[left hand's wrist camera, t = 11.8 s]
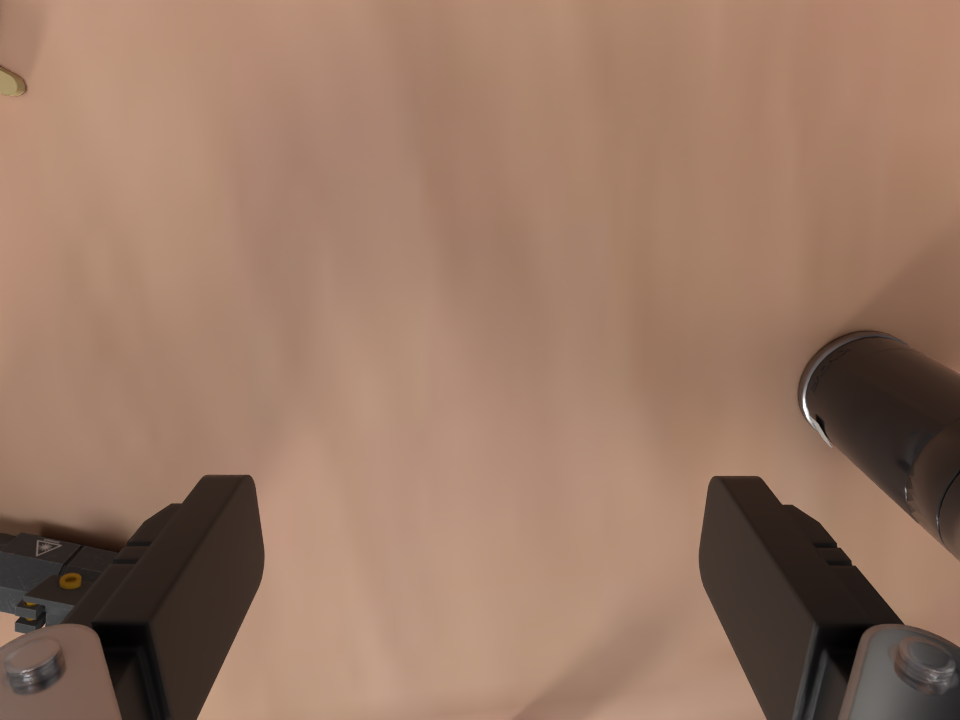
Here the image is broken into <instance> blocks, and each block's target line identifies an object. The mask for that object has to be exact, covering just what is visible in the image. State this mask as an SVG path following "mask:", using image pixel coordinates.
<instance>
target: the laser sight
mask: <svg viewBox="0 0 960 720" xmlns="http://www.w3.org/2000/svg"><path fill="white" fill-rule="evenodd" d="M117 554H118V553H117V552H112V551H108V550H103V549H98V548H93V547H89V546H84V545H79V544H74V543H69V542H65V541H60V540H55V539H50V538H46V537H41V536H36V535H31V534H27V533H22V532H21V533H20V534H19V535H18V536H12V535H8V534H4V533H0V611H1V612H6V613H11V614H15V616H20V618H19V619H18V620H17V621H16V622H15V632H20V633H25V634H27V633H29V632H31V631H34V630H37V629H40V628H42V627H43V625H44V624H45V623H46V625H45V627H48V626H52V625H59V624H60V623H61V622H62V621H63V619H64V618H65V617H66V616H67V615H68V613H69V612H70V611H71V610H72V609H73V607H74V606H75V605H76V604H77V603H78V601H79V600H80V599H81V598H82V597H83V595H84V594H85V593H86V592H87V590H88V589H89V588H90V587H91V586H92V584H93V583H94V582H95V581H96V580H97V578H98V577H99V576H100V575H101V574H102V572H103V571H104V570H105V569H106V568H107V566H108V565H109V564H113V559H114V558H115V557H116V555H117Z"/></svg>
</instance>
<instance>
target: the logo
mask: <svg viewBox="0 0 960 720" xmlns="http://www.w3.org/2000/svg"><path fill="white" fill-rule="evenodd" d="M24 92H25V84H24V82H23V80H22V79H21V78H20V77H19V76H17V75H15V74H13V73H11V72H10V71H8V70H6V69H4V68H2V67H0V94H3V95H7V96H19V95H21V94H23V93H24Z"/></svg>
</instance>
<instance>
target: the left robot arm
mask: <svg viewBox="0 0 960 720" xmlns="http://www.w3.org/2000/svg"><path fill="white" fill-rule="evenodd" d="M798 399H799V405H800V409H801V411H802V414H803V416H804V417H805V419H806V420H807V422H808V423H809V424H810V425H811V426H812V427H813V428H814V429H815V430H817V431H818V432H819V433H820V435H821V436H822V438H823V440H824V441H825V442H826V443H827V444H828V445H829V446H830V447H831V448H832V446H831V445H830V443H829V441H830V442H831V443H832V444H833V445H834V446H835V447H836V448H838V449H839V450H840V451H841V452H842V453H843V454H844V455H845V456H846V457H847V458H848V459H849V460H850V461H852V462H853V463H854V464H855V465H856V466H857V467H858V468H859V469H860V470H861V471H862V472H863V473H864V474H865V475H867V476H868V477H869V478H870V479H871V480H872V481H873V482H874V483H875V484H876V485H877V486H878V487H879V488H881V489H882V490H883V491H884V492H885V493H886V494H887V495H888V496H889V497H890V498H891V499H892V500H893V501H895V502H896V503H897V504H898V505H899V506H900V507H901V508H902V509H903V510H904V511H905V512H906V513H907V514H909V515H910V516H911V517H912V518H913V519H914V520H915V521H916V522H917V523H918V524H920V525H921V526H922V527H923V528H924V529H925V530H926V531H927V532H928V533H929V534H930V535H932V536H933V537H934V538H935V539H936V540H937V541H938V542H939V543H940V544H941V545H942V546H943V547H944V548H946V549H947V550H948V551H949V552H950V553H951V554H952V555H953V556H954V557H955V558H956V559H957V560H959V561H960V374H959V373H957V372H955V371H953V370H951V369H949V368H948V367H946V366H944V365H942V364H940V363H938V362H936V361H935V360H933V359H931V358H929V357H927V356H926V355H924V354H922V353H920V352H918V351H917V350H915V349H913V348H911V347H910V346H908V345H907V344H906V343H904V342H902V341H901V340H899V339H897V338H895V337H893V336H891V335H889V334H885V333H881V332H874V331H864V332H857V333H852V334H849V335H846V336H843V337H841V338H839V339H837V340H835V341H833V342H831V343H830V344H828V345H827V346H825V347H824V348H823V349H822V350H821V351H819V352H818V353H817V354H816V355H815V357H814V358H813V359H812V360H811V361H810V363H809V364H808V366H807V367H806V369H805V371H804V373H803V376H802V378H801V381H800V385H799V393H798ZM827 439H828V440H829V441H828V440H827ZM851 562H852V561H851V560H850V559H849V557H848V556H847V555H846V554H845V553H844V551H843V550H842V549H841V548H837V543H836V542H835V541H834V540H833V538H832V537H831V536H830V535H829V534H828V532H827V531H826V530H825V529H824V528H823V526H822V525H821V524H820V523H819V522H818V521H816V520H815V519H813V518H812V517H810V516H809V515H807V514H805V513H804V512H802V511H801V510H799V509H798V508H796V507H795V506H793V505H782V504H781V503H780V501H779V500H778V499H777V498H776V496H775V495H774V494H773V492H772V491H771V490H770V489H769V487H768V486H767V485H766V483H765V482H764V481H763V480H762V479H761V478H760V477H758V476H714V477H713V478H712V479H711V480H710V483H709V486H708V492H707V499H706V506H705V513H704V520H703V527H702V534H701V541H700V547H699V568H700V574H701V579H702V583H703V586H704V588H705V590H706V593H707V595H708V597H709V599H710V601H711V603H712V605H713V607H714V609H715V612H716V614H717V616H718V618H719V620H720V622H721V624H722V626H723V628H724V630H725V633H726V635H727V637H728V639H729V641H730V643H731V645H732V647H733V649H734V651H735V654H736V656H737V658H738V660H739V662H740V664H741V666H742V668H743V670H744V672H745V675H746V677H747V679H748V681H749V683H750V685H751V687H752V689H753V691H754V693H755V696H756V698H757V700H758V702H759V704H760V706H761V708H762V710H763V712H764V715H765V717H766V719H767V720H960V647H958V646H956V645H955V644H953V643H952V642H950V641H948V640H946V639H944V638H942V637H940V636H938V635H936V634H933V633H931V632H929V631H926V630H923V629H920V628H916V627H912V626H908V625H904V623H903V622H902V621H901V620H900V619H899V617H898V616H897V615H896V614H895V613H894V611H893V610H892V609H891V608H890V607H889V605H888V604H887V603H886V602H885V601H884V599H883V598H882V597H881V596H880V595H879V593H878V592H877V591H876V590H875V589H874V587H873V586H872V585H871V584H870V583H869V581H868V580H867V579H866V578H865V577H864V575H863V574H862V573H861V572H860V571H859V569H858V568H857V567H856V566H852V563H851ZM263 569H264V544H263V537H262V530H261V523H260V516H259V509H258V502H257V495H256V488H255V483H254V481H253V478H252V477H251V476H250V475H205V476H203V477H202V478H201V479H200V481H199V482H198V483H197V485H196V486H195V487H194V489H193V490H192V491H191V492H190V494H189V495H188V496H187V498H186V499H185V500H184V502H183V503H182V504H170V505H169V506H167V507H166V508H164V509H163V510H161V511H160V512H158V513H157V514H155V515H154V516H152V517H151V518H149V519H148V520H146V521H145V522H144V523H143V524H142V525H141V526H140V528H139V529H138V530H137V531H136V532H135V534H134V535H133V536H132V537H131V539H130V540H129V541H128V544H127V546H124V547H123V548H122V549H121V551H120V552H119V553H118V554H117V555H116V557H115V558H114V559H113V564H109V565H108V566H107V568H106V569H105V570H104V571H103V572H102V574H101V575H100V576H99V577H98V578H97V580H96V581H95V582H94V583H93V584H92V586H91V587H90V588H89V589H88V590H87V592H86V593H85V594H84V595H83V597H82V598H81V599H80V600H79V601H78V603H77V604H76V605H75V606H74V607H73V609H72V610H71V611H70V612H69V613H68V615H67V616H66V617H65V618H64V619H63V621H62V622H61V623H60V624H59V625H52V626H48V627H44V628H40V629H37V630H34V631H31V632H29V633H27V634H24V635H22V636H20V637H18V638H16V639H14V640H12V641H10V642H8V643H7V644H5V645H4V646H2V647H0V720H197V718H198V715H199V713H200V711H201V709H202V707H203V705H204V703H205V701H206V698H207V696H208V694H209V692H210V690H211V688H212V686H213V684H214V681H215V679H216V677H217V675H218V673H219V671H220V669H221V667H222V664H223V662H224V660H225V658H226V656H227V654H228V652H229V650H230V647H231V645H232V643H233V641H234V639H235V637H236V635H237V632H238V630H239V628H240V626H241V624H242V622H243V620H244V618H245V615H246V613H247V611H248V609H249V607H250V605H251V603H252V601H253V598H254V596H255V594H256V592H257V590H258V588H259V585H260V582H261V579H262V575H263Z"/></svg>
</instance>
